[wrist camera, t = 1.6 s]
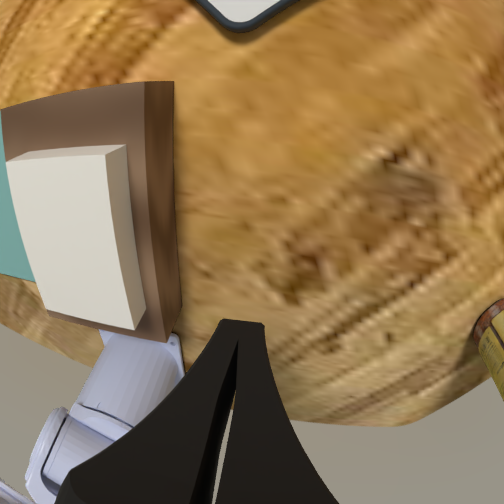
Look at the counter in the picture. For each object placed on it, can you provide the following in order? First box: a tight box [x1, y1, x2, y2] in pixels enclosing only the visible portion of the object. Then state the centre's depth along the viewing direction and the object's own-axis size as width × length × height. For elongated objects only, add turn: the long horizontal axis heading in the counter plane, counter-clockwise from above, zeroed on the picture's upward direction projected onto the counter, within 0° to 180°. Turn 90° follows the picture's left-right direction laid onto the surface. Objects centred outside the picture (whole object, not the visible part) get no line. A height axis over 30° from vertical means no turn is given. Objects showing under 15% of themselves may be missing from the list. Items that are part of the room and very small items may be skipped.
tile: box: [6, 145, 146, 330], centre depth 15 cm, size 10×7×2 cm
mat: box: [0, 111, 36, 282], centre depth 20 cm, size 16×10×1 cm, turn 176°
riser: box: [1, 81, 182, 343], centre depth 17 cm, size 16×10×4 cm, turn 176°
